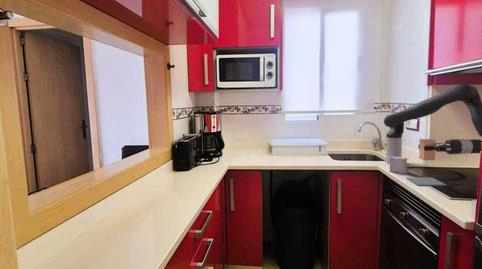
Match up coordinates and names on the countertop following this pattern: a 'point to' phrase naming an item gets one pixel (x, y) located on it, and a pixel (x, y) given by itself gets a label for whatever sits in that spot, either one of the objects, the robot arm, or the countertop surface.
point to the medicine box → (398, 164)
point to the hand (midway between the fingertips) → (421, 147)
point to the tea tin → (426, 154)
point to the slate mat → (426, 182)
